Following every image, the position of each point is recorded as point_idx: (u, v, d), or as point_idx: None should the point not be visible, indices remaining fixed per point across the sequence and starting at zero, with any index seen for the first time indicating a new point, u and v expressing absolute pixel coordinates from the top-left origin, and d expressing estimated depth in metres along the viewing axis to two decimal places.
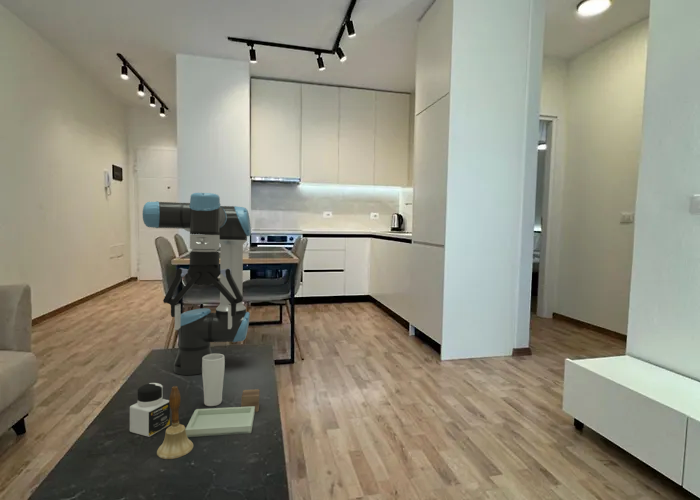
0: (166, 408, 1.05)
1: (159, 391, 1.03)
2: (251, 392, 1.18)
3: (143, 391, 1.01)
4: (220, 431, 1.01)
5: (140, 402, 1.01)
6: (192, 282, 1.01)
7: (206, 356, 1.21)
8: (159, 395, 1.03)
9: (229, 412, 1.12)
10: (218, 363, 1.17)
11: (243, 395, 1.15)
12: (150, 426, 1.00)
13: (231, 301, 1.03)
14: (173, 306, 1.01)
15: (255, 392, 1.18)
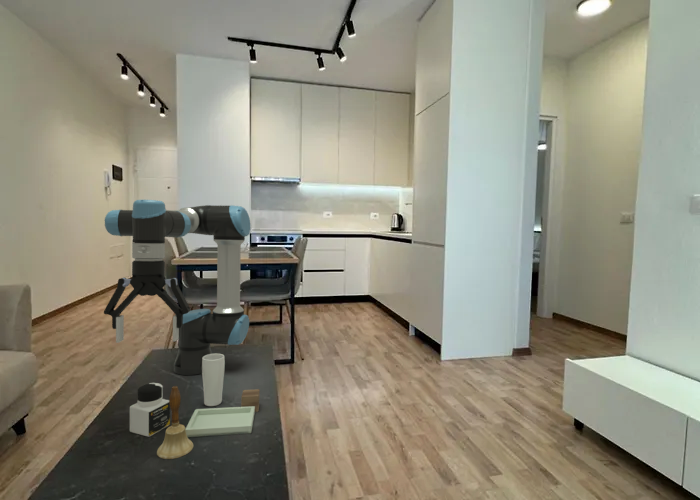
0: (166, 408, 1.05)
1: (159, 391, 1.03)
2: (251, 392, 1.18)
3: (143, 391, 1.01)
4: (220, 431, 1.01)
5: (140, 402, 1.01)
6: (134, 293, 0.97)
7: (206, 356, 1.21)
8: (159, 395, 1.03)
9: (229, 412, 1.12)
10: (218, 363, 1.17)
11: (243, 395, 1.15)
12: (150, 426, 1.00)
13: (176, 312, 0.99)
14: (115, 318, 0.97)
15: (255, 392, 1.18)
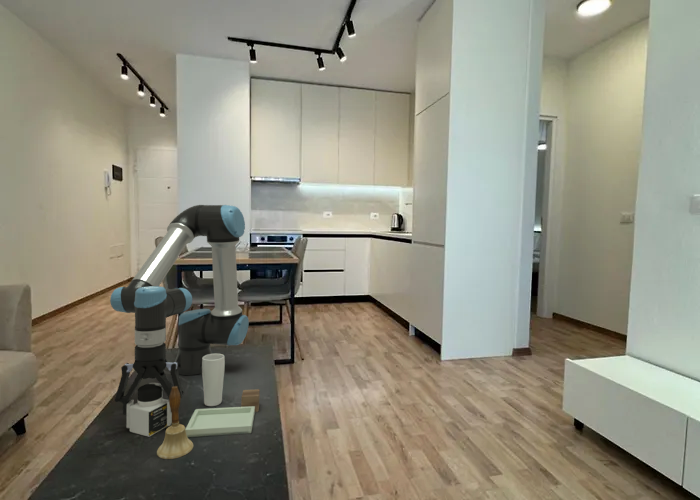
0: (166, 408, 1.05)
1: (159, 391, 1.03)
2: (251, 392, 1.18)
3: (143, 391, 1.01)
4: (220, 431, 1.01)
5: (140, 402, 1.01)
6: (139, 377, 1.01)
7: (206, 356, 1.21)
8: (159, 395, 1.03)
9: (229, 412, 1.12)
10: (218, 363, 1.17)
11: (243, 395, 1.15)
12: (150, 426, 1.00)
13: None
14: (125, 404, 1.02)
15: (255, 392, 1.18)
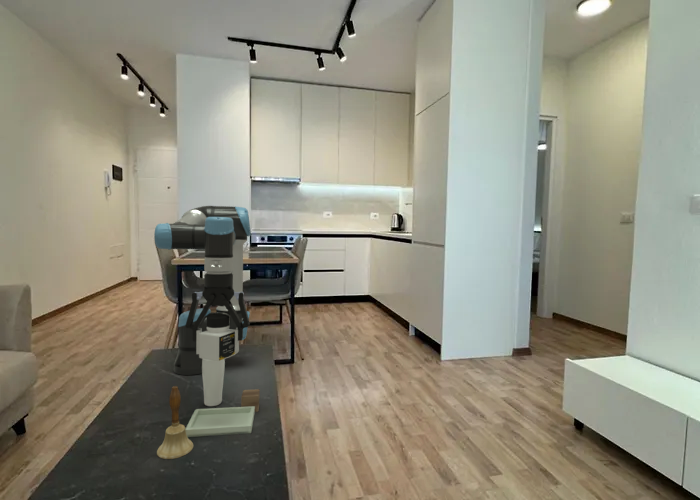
0: (233, 336, 1.07)
1: (227, 319, 1.05)
2: (251, 392, 1.18)
3: (213, 317, 1.03)
4: (220, 431, 1.01)
5: (210, 328, 1.03)
6: (208, 304, 1.04)
7: None
8: (227, 323, 1.05)
9: (229, 412, 1.12)
10: (218, 363, 1.17)
11: (243, 395, 1.15)
12: (220, 351, 1.02)
13: (238, 326, 1.06)
14: (195, 331, 1.04)
15: (255, 392, 1.18)
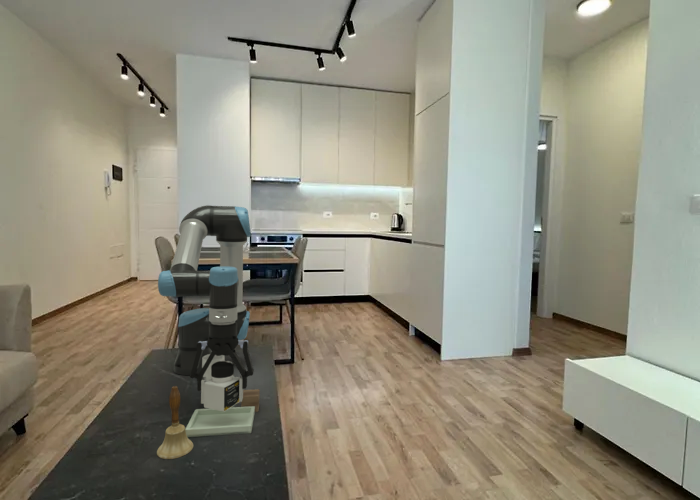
0: (237, 385, 1.08)
1: (232, 368, 1.06)
2: (251, 392, 1.18)
3: (217, 368, 1.04)
4: (220, 431, 1.01)
5: (215, 378, 1.04)
6: (213, 354, 1.04)
7: (206, 356, 1.21)
8: (232, 372, 1.06)
9: (229, 412, 1.12)
10: None
11: (243, 395, 1.15)
12: (225, 401, 1.03)
13: (242, 374, 1.07)
14: (199, 380, 1.05)
15: (255, 392, 1.18)
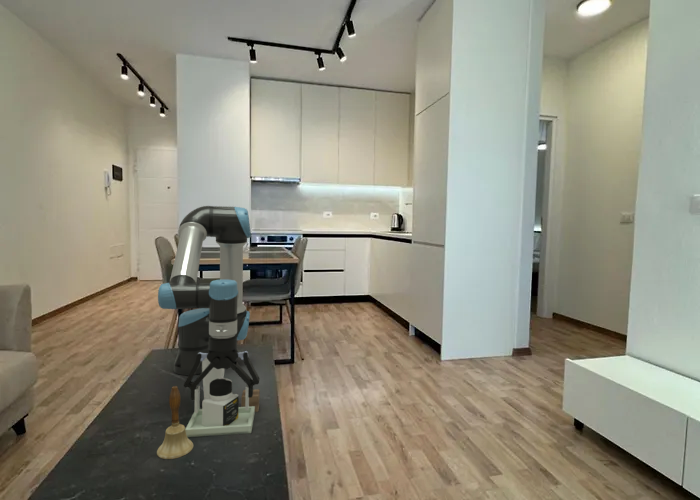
0: (235, 402, 1.08)
1: (230, 386, 1.06)
2: None
3: (216, 386, 1.04)
4: (220, 431, 1.01)
5: (213, 396, 1.04)
6: (211, 367, 1.05)
7: None
8: (230, 389, 1.06)
9: None
10: None
11: (243, 395, 1.15)
12: (224, 420, 1.03)
13: (248, 383, 1.07)
14: (193, 390, 1.05)
15: (255, 392, 1.18)
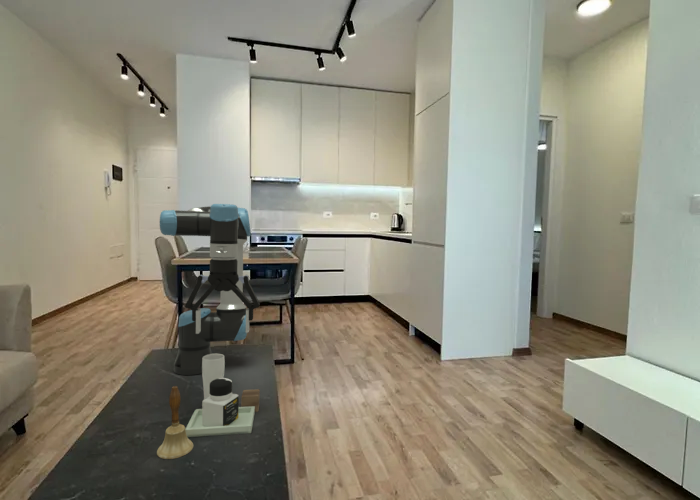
0: (235, 402, 1.08)
1: (230, 386, 1.06)
2: (251, 392, 1.18)
3: (216, 386, 1.04)
4: (220, 431, 1.01)
5: (213, 396, 1.04)
6: (212, 288, 1.06)
7: (206, 356, 1.21)
8: (230, 389, 1.06)
9: None
10: (218, 363, 1.17)
11: (243, 395, 1.15)
12: (224, 420, 1.03)
13: (249, 306, 1.09)
14: (194, 311, 1.07)
15: (255, 392, 1.18)
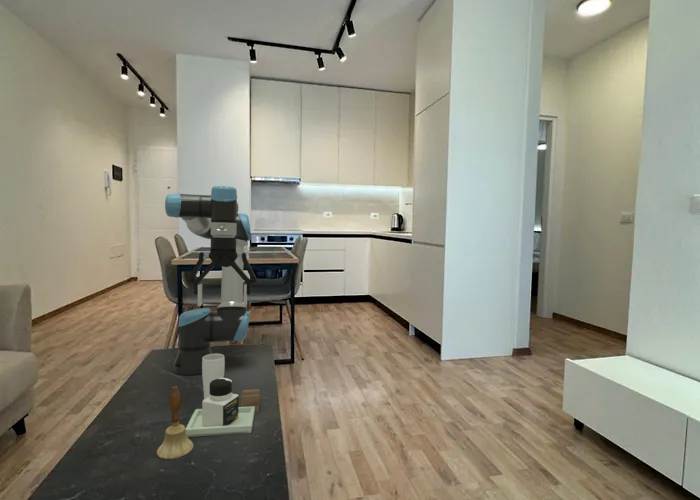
0: (235, 402, 1.08)
1: (230, 386, 1.06)
2: (251, 392, 1.18)
3: (216, 386, 1.04)
4: (220, 431, 1.01)
5: (213, 396, 1.04)
6: (213, 264, 1.15)
7: (206, 356, 1.21)
8: (230, 389, 1.06)
9: None
10: (218, 363, 1.17)
11: (243, 395, 1.15)
12: (224, 420, 1.03)
13: (247, 281, 1.17)
14: (196, 285, 1.15)
15: (255, 392, 1.18)
